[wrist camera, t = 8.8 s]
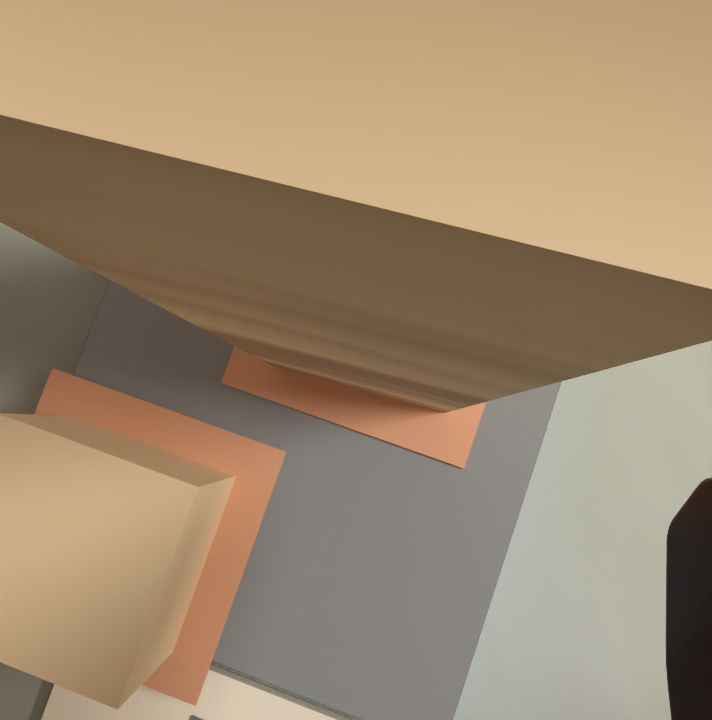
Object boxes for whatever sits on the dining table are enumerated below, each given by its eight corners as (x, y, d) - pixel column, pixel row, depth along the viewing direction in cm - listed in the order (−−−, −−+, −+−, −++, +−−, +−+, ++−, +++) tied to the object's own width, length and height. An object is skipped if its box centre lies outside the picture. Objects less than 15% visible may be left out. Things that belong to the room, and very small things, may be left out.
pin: (446, 412, 15) (812, 314, 2) (271, 365, 15) (-377, 24, 2) (490, 240, 15) (1037, -776, 2) (319, 198, 16) (-11, -898, 3)
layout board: (425, 772, 15) (438, 898, 11) (-14, 598, 16) (-151, 656, 12) (615, 184, 16) (689, 104, 12) (196, 55, 17) (138, -59, 13)
